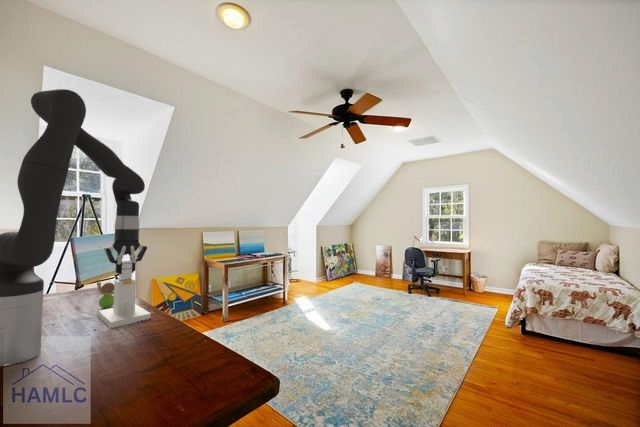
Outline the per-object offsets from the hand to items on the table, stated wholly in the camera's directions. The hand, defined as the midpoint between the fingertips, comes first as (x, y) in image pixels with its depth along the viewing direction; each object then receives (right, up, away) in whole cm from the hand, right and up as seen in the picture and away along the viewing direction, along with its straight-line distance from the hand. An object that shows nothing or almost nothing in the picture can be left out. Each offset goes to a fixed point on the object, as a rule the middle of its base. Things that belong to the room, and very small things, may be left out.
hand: (125, 273), depth 102 cm
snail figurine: (-15, -17, +10) cm, 25 cm away
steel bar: (0, -12, 0) cm, 12 cm away
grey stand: (0, -17, -1) cm, 17 cm away
